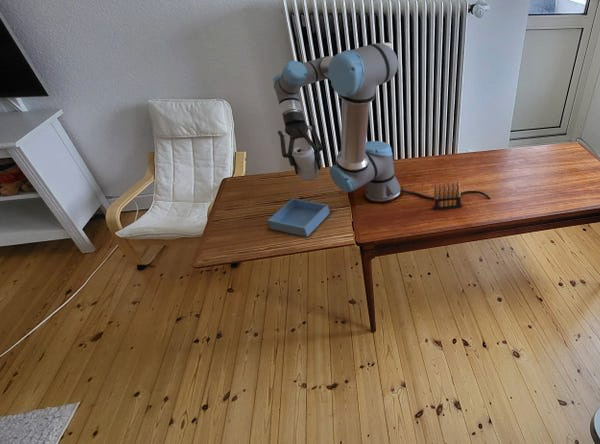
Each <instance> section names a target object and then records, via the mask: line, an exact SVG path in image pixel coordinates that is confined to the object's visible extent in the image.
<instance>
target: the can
mask: <svg viewBox="0 0 600 444" xmlns="http://www.w3.org/2000/svg"><path fill="white" fill-rule="evenodd" d="M314 152H315V151H314V150H313V148H312V147H311V146H310V145H300V146H297V147H295V148H293V153H292V156H293V157H294V160H295V163H296V166H297V170H298V176H299V178H300V179H302V180H304V181H313V180H316V178H318V176H319V175H320V170H319V169H318V166H317V162H316V159H315V155H314Z"/></svg>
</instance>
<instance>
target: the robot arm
mask: <svg viewBox="0 0 600 444" xmlns="http://www.w3.org/2000/svg"><path fill="white" fill-rule="evenodd" d="M398 67H399V61H398V57H397V53H396V52H395V51H394V49H392V48H391V47H390V46H389V45H388V44H385V43H382V42H374V43H370V44H367V45H364V46H360V47H356V48H353V49H346V50H343V51H342V52H339V53H337V54H335V55H331V56H330V55H327V56H321V57H319V58H315V59H313V60H312V59H311V60H309V61H305V62H304V61H303V62H300V61H299V60H289V61H288V62H287V63H286V64H285V65H284V67H283V69H282V72H281V73H278V74H276V75H275V76H274V77H273V78H272V82H273V88H274V91H275V95H276V99H277V102H278V105H279V108H280V113H281V116H282V119H283V123H284V130H277V134H278V135H279V141H280V149H281V155H282V157H283V158H284V159H288V162H289V165H290V166H291V167H293V168H294V172H295V175H299V173H298V170H297V166H296V163H295V160H294V157H293V153H294V146H295V142H296V140H298V139H304V140H305V141H306V142H307V143H308V145H309V147H311V149H312V150H313V151H314V155H315V159H316V162H317V166H318V170H319V171H320V170H321V165H320V161H322V158H321V154H320V152H322V151H323V150H324V147H323V145H322V142H321V140H320V138H319V136H318V133H317V131H316V130H317V129H316V125H315V124H312V125H308V124H307V123H306V120H305V115H304V113H303V112H304V111H303V108H302V105H301V101H300V98H299V92H300V90H301V88H302V87H305V86H308V85H312V84H314V83H317V82H320V81H324V80H329V81H330V82H331V83H330V85H331V88H332V89H333V90H334V92H335V93H336V94H337V96H338V97H339V98H340V99H341V124H340V125H341V126H340V127H341V128H340V129H341V131H340V151H338V153H337V154H336V159H335V160H336V162H335V164H333V165H332V166H330V168H329V175H330V177H331V179H332V181H333V183H334V184H335V186H337V187H338V189H339V190H341V191H342V192H344V193H352V192H354V191H357V189H360V188H361V187H362V186H365V189H364V193H365V198H366V199H367V200H368V201H370V202H372V203H377V204H385V203H390V202H392V201H395V200H396V199H398V198H399V197H400V196H401V194H402V193H403V194H409V195H413V196H414V195H415V196H419V197H421V198H423V199H428V200H435V197H434V196H427V195H425V194H422V193H419V192H415V191H412V190H411V191H410V190H404V189H401V185H400V183H399V181H398V179H397V177H396V175H395V174H396V173H395V167H394V156H393V155H394V154H393V151H392V147H391V145H390V144H389V143H387V142H385V141H380V140H371V141H367V136H368V125H369V115H370V114H369V111H370V103H372V102H373V101H374V100H375V97H376V89H377V86H380V85H383V84H385V83H388V82H389V81H391V80H393V78H394V77H395V76H396V73H397V71H398ZM308 131H309V132H311V133H312V135H313V137H314V140H315V142H316V144H317V146H316V144H315V143H314V141H313V140H312V139H311V138H310V137H309V135H308V134H307V133H308ZM286 134H287V135H288V136H289V143H288V149H286V147H287V146H286V140H285V137H286ZM465 194H479V195H482V196H484V197H485V198H486V199H488V200H491V199H492V198H491V197H490V195H488V194H486V193H485V192H483V191H480V190H465V191H462V192H461V191H460V196H463V195H465Z"/></svg>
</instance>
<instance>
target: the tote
mask: <svg viewBox="0 0 600 444" xmlns="http://www.w3.org/2000/svg"><path fill="white" fill-rule="evenodd" d="M330 214H331V211H330V208H329V205H328V204H326V203H320V202H315V201H310V200H304V199H300V198H294V197H292V198H291V199H290V200H289V201H288V202H286V204H284V205H283V206H282V207H281V208H279V210H277V211H276V212H275V213H273V215H272V216H271V217H269V218H268V219H267V223H268V226H269V228H270V230H273V231H280V232H282V233H283V232H284V233H288V234H293V235H298V236H302V237H306V238H308V237H309V236H310V235H311V233H313V231H315V229H317V227H318V226H319V225H320V224H321V223H322V222H323V221H324V220H325V219H326V218H327V217H328V216H329V215H330Z"/></svg>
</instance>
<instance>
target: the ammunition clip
mask: <svg viewBox="0 0 600 444" xmlns="http://www.w3.org/2000/svg"><path fill="white" fill-rule="evenodd" d="M460 193H461V185H460V181H457V182H456V183H455V181H453V182H452V185H451V182H448V183H446V182H443V185H442V182H440V183H439V185H438V184H437V183H435V184H434V191H433V197H435V199H434V210H435V211H436V210H437V211H438V210H446V209H447V210H448V209H456V208H457V209H459V208H461V207H462V201H461V199H462V198H461V195H460Z"/></svg>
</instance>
